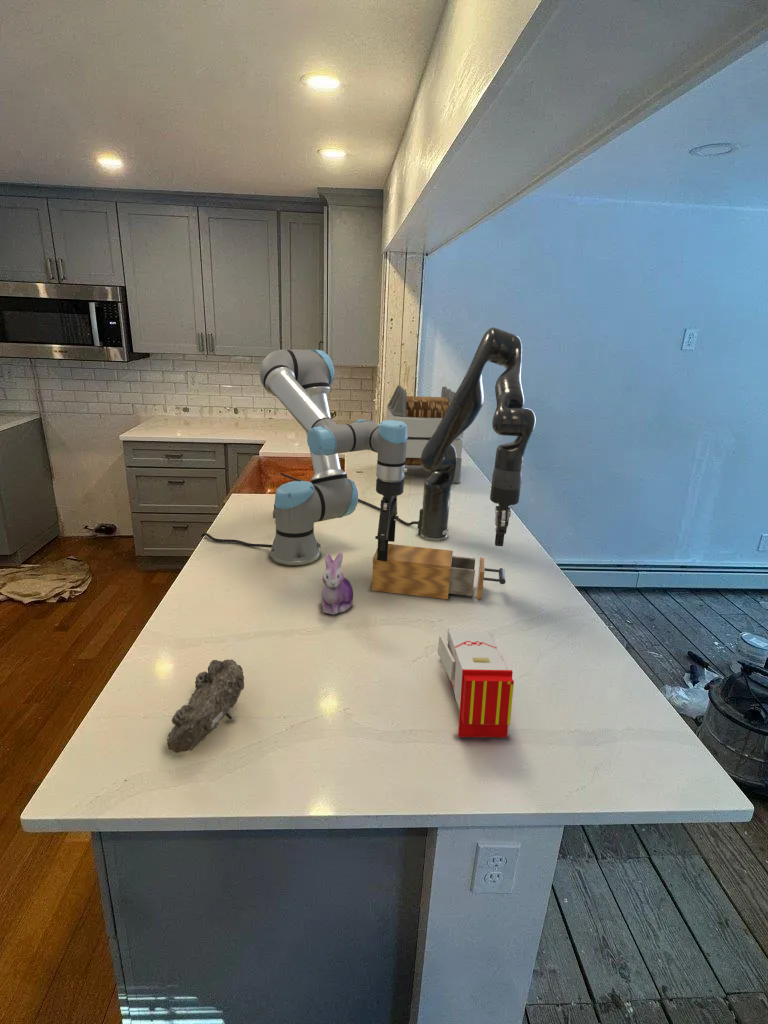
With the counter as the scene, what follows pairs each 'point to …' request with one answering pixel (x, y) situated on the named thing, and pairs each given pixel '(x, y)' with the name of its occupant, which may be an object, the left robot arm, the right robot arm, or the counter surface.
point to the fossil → (206, 705)
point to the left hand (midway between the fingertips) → (386, 550)
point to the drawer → (469, 576)
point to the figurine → (335, 587)
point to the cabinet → (413, 571)
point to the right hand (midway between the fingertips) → (498, 545)
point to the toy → (478, 682)
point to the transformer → (422, 422)
